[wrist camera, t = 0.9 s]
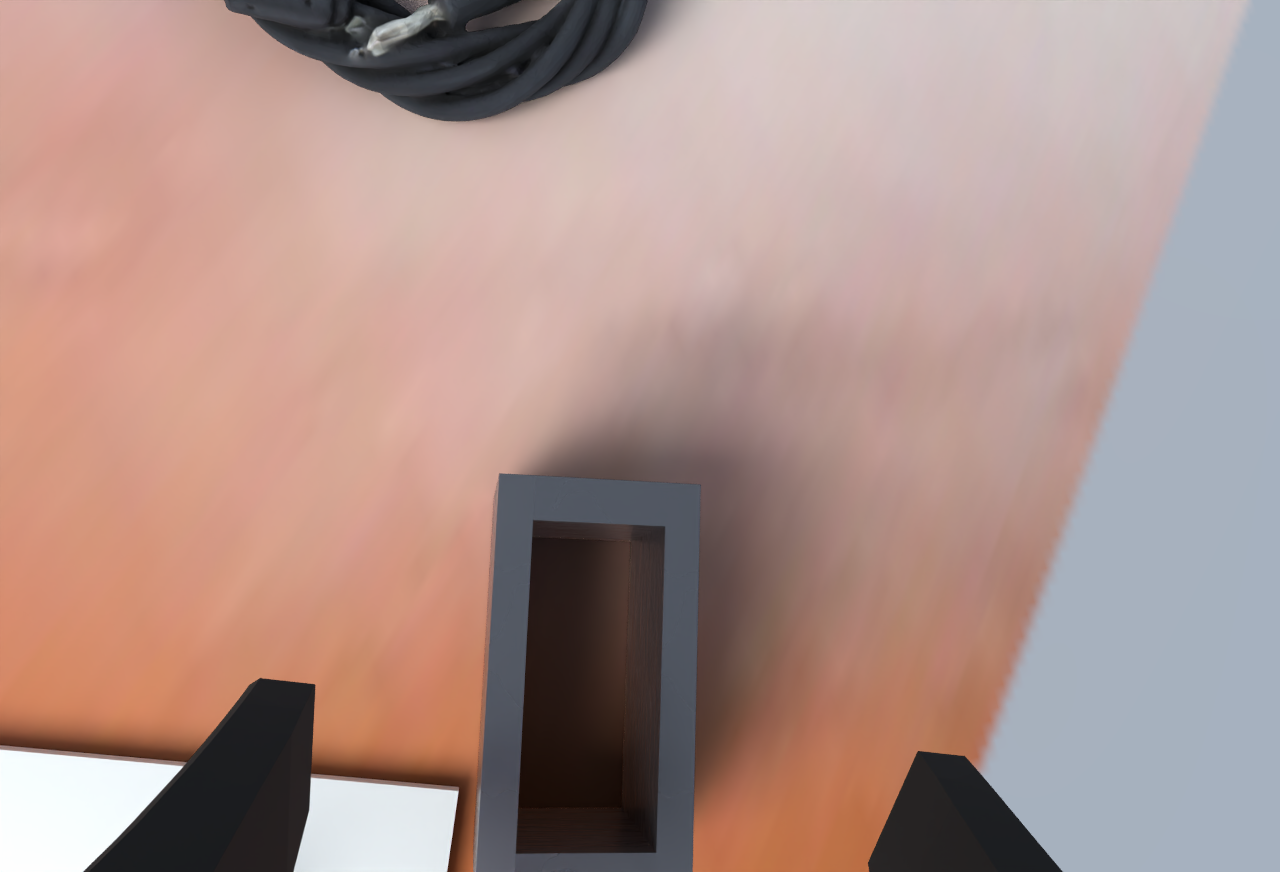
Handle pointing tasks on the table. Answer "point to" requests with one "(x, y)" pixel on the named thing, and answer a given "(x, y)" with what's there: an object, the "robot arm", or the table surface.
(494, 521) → the grey open storage bin
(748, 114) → the table surface
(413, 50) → the cable
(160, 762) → the keeper plate
